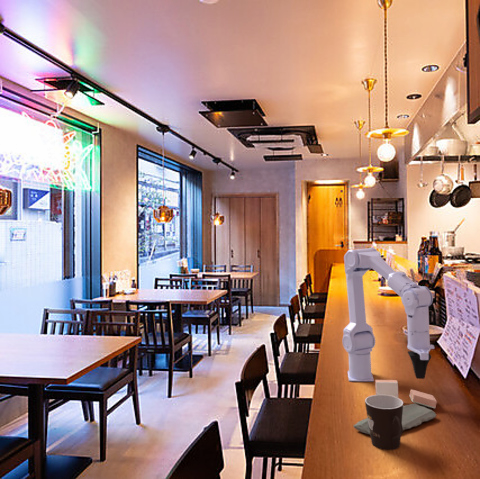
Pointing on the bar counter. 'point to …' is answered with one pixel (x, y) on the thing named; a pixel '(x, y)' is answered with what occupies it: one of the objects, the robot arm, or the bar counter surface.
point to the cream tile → (387, 387)
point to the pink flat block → (423, 398)
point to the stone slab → (404, 418)
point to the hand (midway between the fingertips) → (420, 377)
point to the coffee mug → (385, 420)
